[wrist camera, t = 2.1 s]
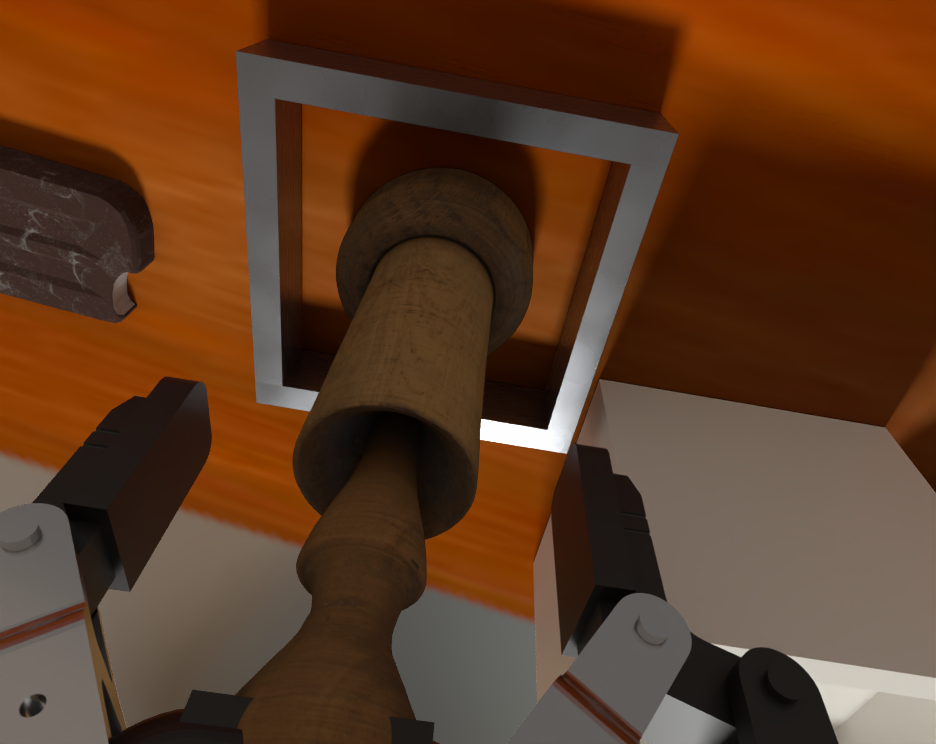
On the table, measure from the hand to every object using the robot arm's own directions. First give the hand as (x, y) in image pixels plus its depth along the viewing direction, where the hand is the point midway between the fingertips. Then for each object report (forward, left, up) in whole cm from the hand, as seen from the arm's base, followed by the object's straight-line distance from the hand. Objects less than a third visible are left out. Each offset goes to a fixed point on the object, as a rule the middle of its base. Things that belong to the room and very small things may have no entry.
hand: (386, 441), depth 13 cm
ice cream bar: (+18, +1, -11) cm, 21 cm away
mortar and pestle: (0, 0, -10) cm, 10 cm away
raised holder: (-13, +10, -10) cm, 19 cm away
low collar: (0, 0, -10) cm, 10 cm away
